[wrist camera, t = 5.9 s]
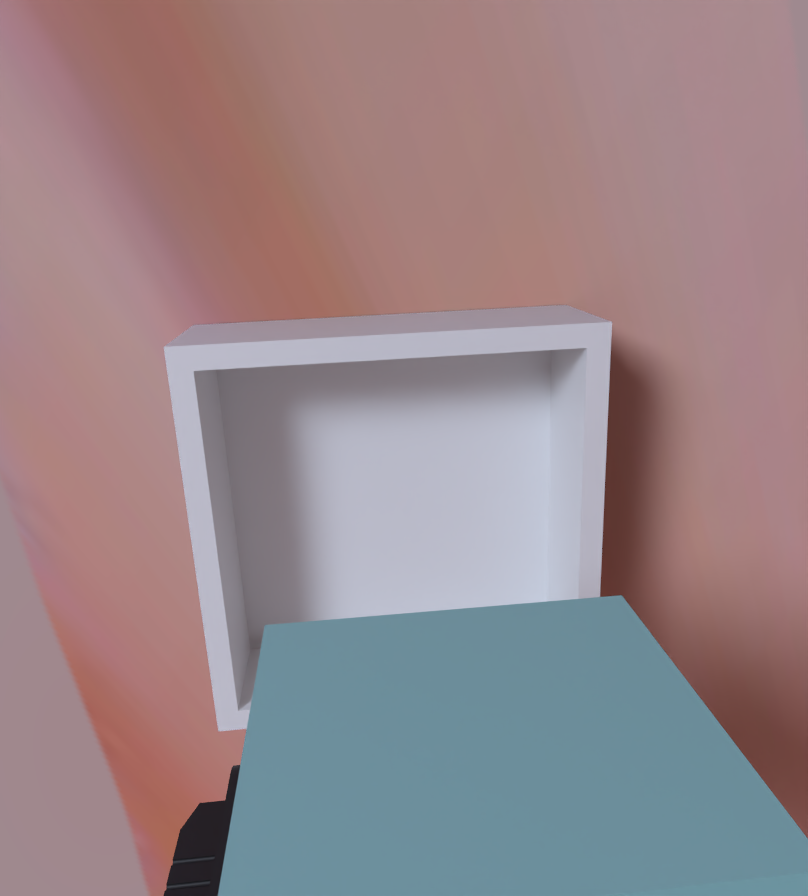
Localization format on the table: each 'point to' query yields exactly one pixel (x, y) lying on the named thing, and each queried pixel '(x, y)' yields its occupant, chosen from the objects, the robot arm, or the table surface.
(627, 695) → the teal crate
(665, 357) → the table surface
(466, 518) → the white crate
